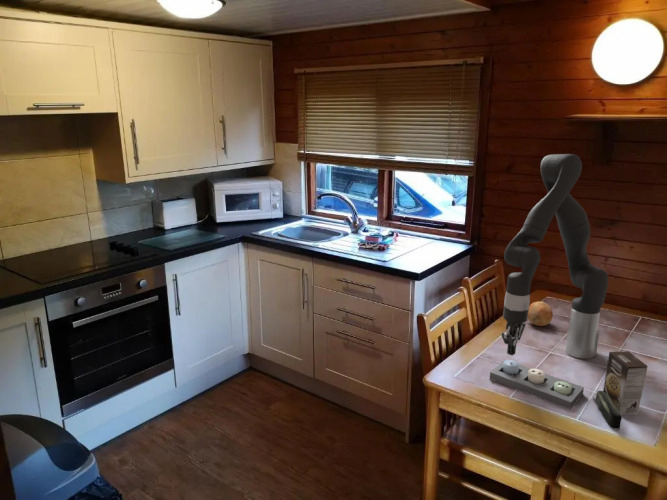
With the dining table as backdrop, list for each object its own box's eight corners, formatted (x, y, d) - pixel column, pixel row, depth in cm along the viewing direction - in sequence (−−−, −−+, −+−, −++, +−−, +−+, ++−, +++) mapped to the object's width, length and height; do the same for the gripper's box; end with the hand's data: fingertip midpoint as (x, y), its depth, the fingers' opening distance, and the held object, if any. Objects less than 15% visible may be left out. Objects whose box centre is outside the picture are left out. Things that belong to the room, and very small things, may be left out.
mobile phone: (624, 416, 145) (602, 385, 159) (613, 415, 145) (592, 385, 160) (621, 431, 147) (600, 399, 161) (610, 430, 147) (589, 399, 161)
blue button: (499, 372, 173) (500, 363, 172) (506, 366, 177) (507, 357, 176) (514, 377, 170) (515, 368, 169) (520, 371, 173) (521, 362, 173)
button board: (489, 378, 173) (490, 372, 172) (504, 366, 181) (505, 359, 180) (570, 409, 156) (571, 402, 155) (582, 394, 164) (583, 387, 163)
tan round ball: (553, 323, 214) (556, 300, 211) (548, 332, 206) (551, 308, 203) (529, 317, 219) (531, 295, 216) (523, 326, 211) (525, 303, 208)
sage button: (550, 394, 163) (551, 385, 162) (556, 387, 166) (558, 379, 165) (567, 400, 159) (568, 391, 158) (573, 393, 163) (574, 384, 162)
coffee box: (600, 398, 162) (608, 351, 157) (620, 396, 162) (628, 350, 157) (618, 415, 153) (627, 366, 148) (639, 414, 154) (648, 365, 149)
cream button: (524, 381, 168) (525, 372, 167) (531, 375, 171) (532, 366, 170) (540, 386, 164) (541, 377, 163) (546, 380, 168) (547, 371, 167)
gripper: (514, 296, 174) (509, 343, 179) (495, 308, 164) (490, 357, 169) (536, 302, 169) (530, 350, 174) (518, 314, 159) (512, 365, 165)
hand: (511, 354), depth 172 cm, fingers closed
